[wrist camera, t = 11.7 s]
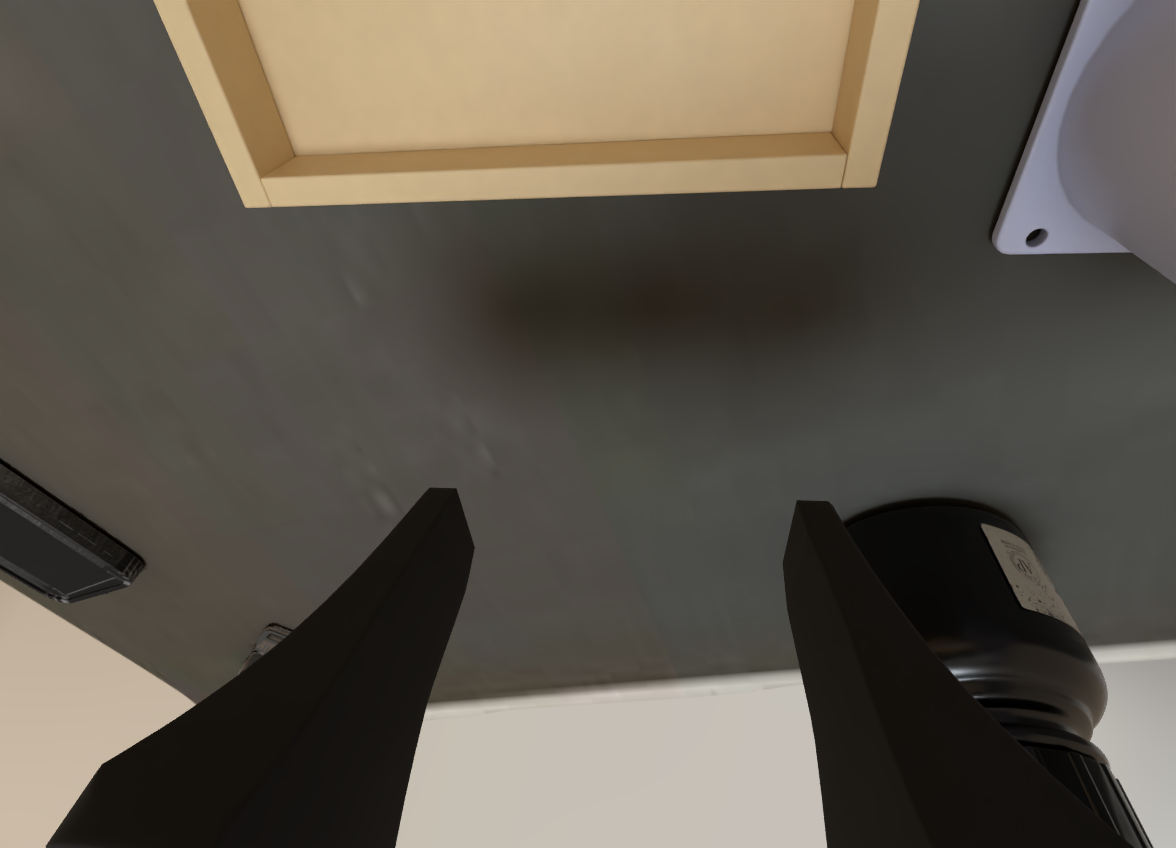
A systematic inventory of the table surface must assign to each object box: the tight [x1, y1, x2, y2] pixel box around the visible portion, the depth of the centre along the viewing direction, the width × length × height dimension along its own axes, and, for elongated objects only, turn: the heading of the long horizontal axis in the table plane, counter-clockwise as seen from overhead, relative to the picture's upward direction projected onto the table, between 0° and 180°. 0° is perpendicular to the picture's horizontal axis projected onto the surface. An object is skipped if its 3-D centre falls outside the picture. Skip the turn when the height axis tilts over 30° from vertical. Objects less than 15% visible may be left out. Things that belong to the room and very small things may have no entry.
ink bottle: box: [846, 506, 1154, 848], centre depth 22 cm, size 10×9×12 cm
